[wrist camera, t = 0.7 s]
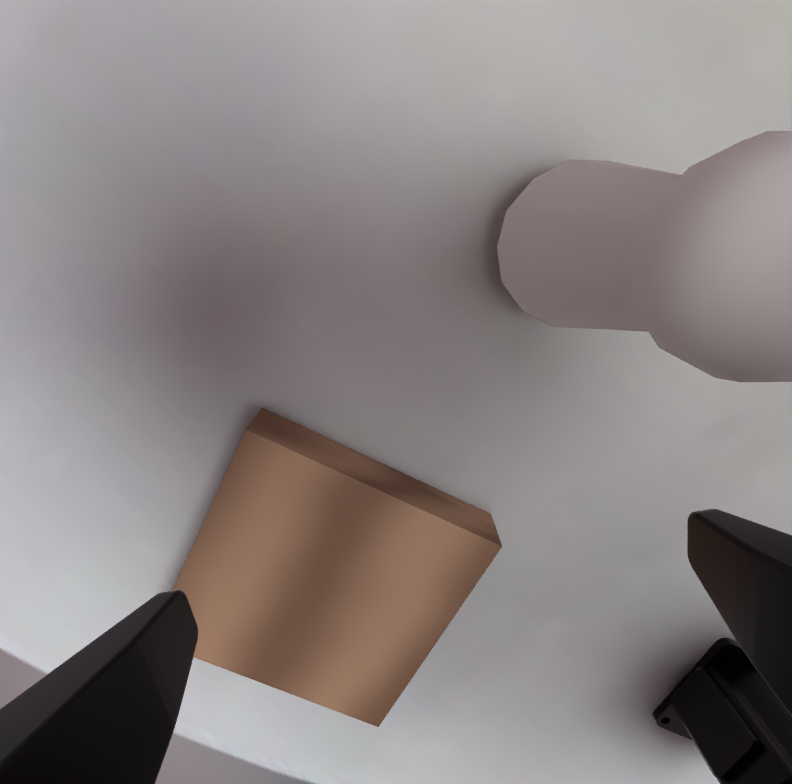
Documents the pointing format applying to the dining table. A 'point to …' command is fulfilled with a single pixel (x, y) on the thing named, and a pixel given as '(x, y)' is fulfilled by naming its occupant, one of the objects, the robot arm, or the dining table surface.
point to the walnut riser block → (329, 569)
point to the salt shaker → (665, 255)
